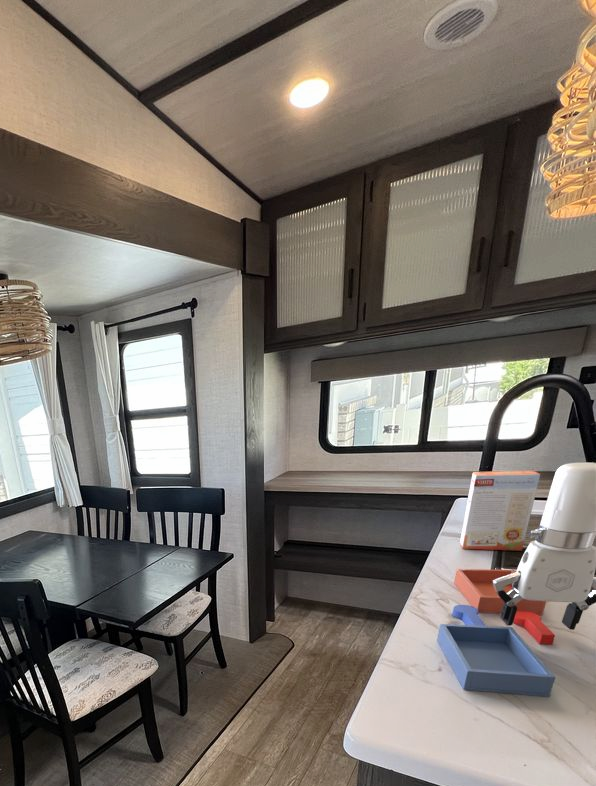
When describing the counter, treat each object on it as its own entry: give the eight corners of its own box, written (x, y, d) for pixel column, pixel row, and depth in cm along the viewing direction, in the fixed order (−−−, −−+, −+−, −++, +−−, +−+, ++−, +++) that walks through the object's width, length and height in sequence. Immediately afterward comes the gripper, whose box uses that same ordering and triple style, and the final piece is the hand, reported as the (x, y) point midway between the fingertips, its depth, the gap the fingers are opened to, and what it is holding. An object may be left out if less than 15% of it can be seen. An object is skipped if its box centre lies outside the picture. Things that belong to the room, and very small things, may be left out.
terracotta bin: (510, 584, 110) (513, 569, 108) (542, 615, 95) (547, 599, 94) (453, 582, 113) (456, 568, 112) (476, 612, 99) (480, 597, 97)
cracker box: (517, 545, 132) (535, 469, 123) (522, 551, 127) (542, 473, 119) (458, 542, 138) (472, 470, 129) (461, 549, 133) (476, 474, 124)
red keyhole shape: (560, 645, 85) (563, 635, 84) (531, 643, 86) (534, 634, 85) (533, 617, 95) (535, 609, 94) (507, 616, 96) (510, 608, 95)
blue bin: (507, 644, 87) (512, 627, 85) (549, 697, 72) (555, 677, 71) (436, 640, 90) (440, 623, 89) (463, 689, 76) (467, 671, 74)
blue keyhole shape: (492, 636, 90) (494, 627, 89) (465, 635, 91) (467, 626, 90) (473, 611, 99) (475, 602, 98) (449, 610, 100) (451, 602, 100)
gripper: (514, 542, 80) (490, 630, 87) (641, 545, 75) (604, 637, 82) (498, 530, 86) (476, 612, 94) (613, 531, 82) (582, 618, 89)
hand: (536, 624), depth 88 cm, fingers open, 9 cm apart
